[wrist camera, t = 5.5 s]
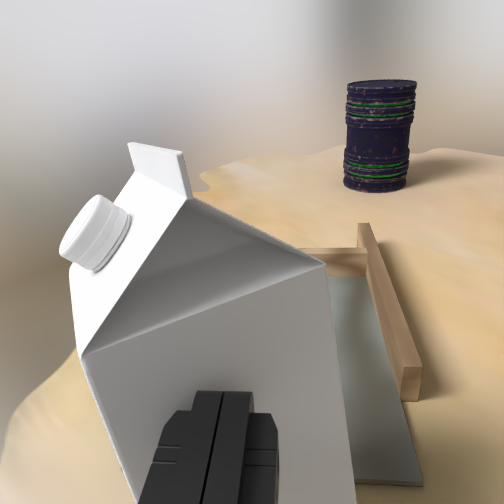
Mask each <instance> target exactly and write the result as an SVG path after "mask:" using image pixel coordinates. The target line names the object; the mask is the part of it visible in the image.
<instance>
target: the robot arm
mask: <svg viewBox="0 0 504 504" xmlns="http://www.w3.org/2000/svg"><path fill="white" fill-rule="evenodd" d="M279 471H280V465H279V443H278V429H277V427H276V424H275V422H274V420H273V417H272V415H271V413H255V411H254V399H253V392H247V391H207V390H198V391H197V392H196V394H195V397H194V401H193V405H192V408H191V411H187V410H177V411H176V412H175V413H174V414H173V415H172V417H171V418H170V419H169V420H168V422H167V423H166V424H165V425H164V427H163V430H162V433H161V436H160V439H159V442H158V447H157V448H156V451H155V454H154V457H153V462H152V464H151V466H150V469H149V472H148V475H147V478H146V481H145V484H144V487H143V490H142V493H141V496H140V499H139V502H138V504H278V496H279Z"/></svg>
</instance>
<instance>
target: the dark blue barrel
mask: <svg viewBox="0 0 504 504" xmlns="http://www.w3.org/2000/svg"><path fill="white" fill-rule="evenodd" d="M416 86H417V82H416V81H411V80H368V81H359V82H353V83H349V84H348V85H347V91H348V95H347V101H348V102H347V103H346V112H347V113H346V118H345V119H346V124H347V144H346V148H345V150H344V163H343V165H344V166H343V168H344V175H345V177H344V180H343V183H344V185H345V186H346V187H347V188H349V189H352V190H355V191H360V192H367V193H386V192H393V191H397V190H400V189H402V188H404V187H405V185H406V179H405V177H406V175H407V170H408V166H409V160H408V159H409V155H410V154H409V152H410V151H409V148H408V144H409V134H410V125H411V123H412V122H413V118H414V116H413V114H414V112H413V111H414V110H415V101H414V99H415V96H416V93H415V89H416Z"/></svg>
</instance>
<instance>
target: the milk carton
mask: <svg viewBox="0 0 504 504" xmlns="http://www.w3.org/2000/svg"><path fill="white" fill-rule="evenodd" d="M128 148H129V151H130V155H131V158H132V162H133V165H134V168H135V172H134V173H133V175H132V177H131V178H130V180H129V181H128V182H127V184H126V185H125V187H124V188H123V190H122V191H121V193H120V194H119V196H118V197H117V199H116V200H115V201H114V203H113V202H111V201H110V200H108V199H106V198H105V197H103V196H102V195H97V196H95V197H93V198H92V199H90V200H89V201H88V202H87V204H86V205H85V206H84V207H83V208H82V210H81V211H80V213H79V214H78V215H77V217H76V218H75V219H74V221H73V222H72V224H71V226H70V227H69V229H68V230H67V232H66V234H65V236H64V237H63V239H62V242H61V245H60V249H59V253H60V255H61V256H62V257H64V258H66V259H68V260H70V261H72V262H73V263H72V265H71V267H70V270H69V281H70V290H71V300H72V309H73V319H74V329H75V337H76V345H77V352H78V356H79V360H80V363H81V366H82V369H83V372H84V374H85V377H86V380H87V382H88V385H89V387H90V390H91V393H92V395H93V398H94V400H95V403H96V405H97V408H98V410H99V413H100V415H101V418H102V420H103V423H104V425H105V428H106V430H107V433H108V435H109V438H110V440H111V443H112V445H113V448H114V451H115V453H116V456H117V458H118V461H119V463H120V466H121V468H122V471H123V473H124V476H125V478H126V481H127V483H128V486H129V488H130V491H131V493H132V496H133V498H134V501H135V503H136V504H138V502H139V499H140V496H141V493H142V490H143V487H144V484H145V481H146V478H147V475H148V472H149V469H150V466H151V464H152V462H153V457H154V454H155V451H156V448H157V447H158V442H159V439H160V436H161V433H162V430H163V427H164V425H165V424H166V423H167V422H168V420H169V419H170V418H171V417H172V415H173V414H174V413H175V412H176V411H177V410H187V411H191V408H192V405H193V401H194V397H195V394H196V392H197V391H198V390H207V391H247V392H253V399H254V411H255V413H271V415H272V417H273V420H274V422H275V424H276V427H277V429H278V443H279V465H280V471H279V496H278V504H357V499H356V492H355V484H354V476H353V469H352V461H351V453H350V445H349V438H348V430H347V422H346V415H345V407H344V399H343V391H342V384H341V376H340V368H339V361H338V353H337V345H336V337H335V330H334V322H333V314H332V307H331V299H330V291H329V284H328V276H327V268H326V263H324V262H322V261H321V260H319V259H317V258H315V257H313V256H311V255H309V254H307V253H305V252H303V251H301V250H299V249H297V248H295V247H293V246H291V245H289V244H287V243H285V242H283V241H281V240H279V239H277V238H275V237H273V236H271V235H269V234H267V233H265V232H263V231H261V230H259V229H257V228H255V227H253V226H251V225H249V224H247V223H245V222H243V221H241V220H239V219H237V218H235V217H233V216H231V215H229V214H227V213H225V212H223V211H221V210H219V209H217V208H215V207H213V206H211V205H209V204H207V203H205V202H203V201H201V200H199V199H197V198H195V197H193V195H192V191H191V186H190V182H189V178H188V174H187V170H186V166H185V161H184V157H183V153H182V151H176V150H171V149H165V148H160V147H156V146H150V145H145V144H140V143H135V142H131V143H128Z"/></svg>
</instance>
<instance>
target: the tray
mask: <svg viewBox="0 0 504 504" xmlns="http://www.w3.org/2000/svg"><path fill="white" fill-rule="evenodd" d="M297 249H299V250H301V251H303V252H305V253H307V254H309V255H311V256H313V257H315V258H317V259H319V260H321V261H322V262H324V263H326V268H327V276H328V284H329V291H330V299H331V307H332V314H333V322H334V330H335V337H336V345H337V353H338V361H339V368H340V376H341V384H342V391H343V399H344V407H345V415H346V422H347V430H348V438H349V445H350V453H351V461H352V469H353V476H354V483H363V484H383V485H403V486H423V482H424V481H423V478H422V474H421V471H420V467H419V464H418V460H417V456H416V453H415V449H414V446H413V442H412V439H411V435H410V432H409V428H408V424H407V421H406V417H405V414H404V410H403V407H402V403H401V401H418V397H419V391H420V385H421V379H422V372H423V365H422V362H421V359H420V357H419V354H418V351H417V349H416V346H415V343H414V341H413V338H412V335H411V333H410V330H409V327H408V325H407V322H406V319H405V317H404V314H403V311H402V309H401V306H400V303H399V301H398V298H397V295H396V293H395V290H394V287H393V285H392V282H391V280H390V277H389V274H388V272H387V269H386V266H385V264H384V261H383V258H382V256H381V253H380V250H379V248H378V245H377V242H376V240H375V237H374V234H373V232H372V229H371V226H370V224H369V223H358V234H357V248H297ZM121 470H122V468H121Z"/></svg>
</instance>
